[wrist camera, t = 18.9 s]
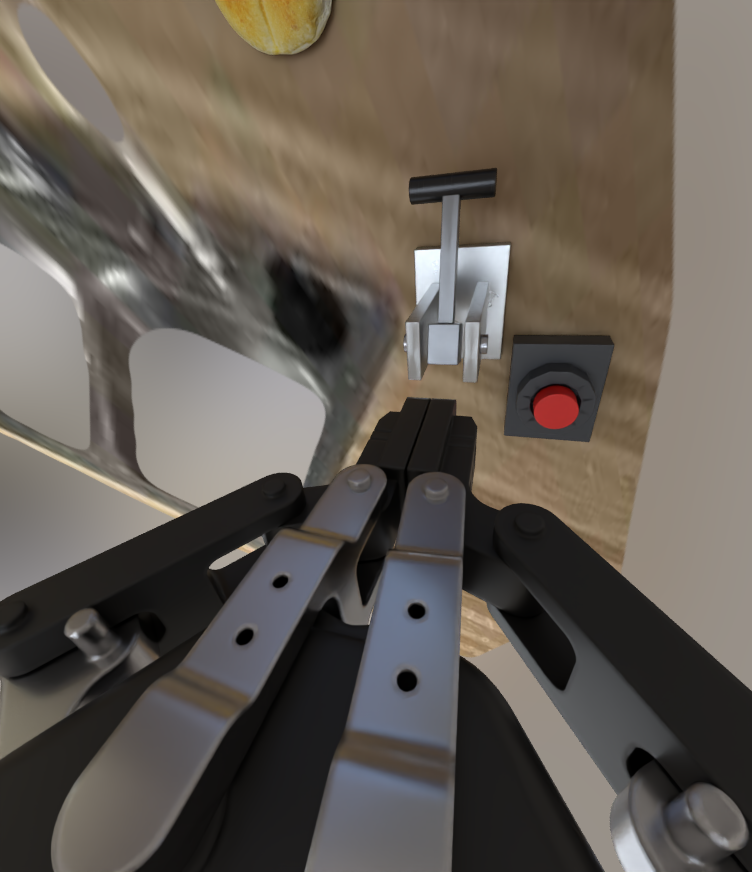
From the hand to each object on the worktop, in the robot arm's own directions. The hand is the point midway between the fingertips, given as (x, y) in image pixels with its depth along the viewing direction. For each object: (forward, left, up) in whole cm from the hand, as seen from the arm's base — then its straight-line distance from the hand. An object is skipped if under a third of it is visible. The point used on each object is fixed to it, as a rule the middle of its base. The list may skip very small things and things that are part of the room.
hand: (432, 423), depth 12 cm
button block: (+12, +7, -27) cm, 30 cm away
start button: (+12, +7, -23) cm, 27 cm away
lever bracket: (+4, -2, -27) cm, 27 cm away
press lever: (0, -2, -19) cm, 20 cm away
